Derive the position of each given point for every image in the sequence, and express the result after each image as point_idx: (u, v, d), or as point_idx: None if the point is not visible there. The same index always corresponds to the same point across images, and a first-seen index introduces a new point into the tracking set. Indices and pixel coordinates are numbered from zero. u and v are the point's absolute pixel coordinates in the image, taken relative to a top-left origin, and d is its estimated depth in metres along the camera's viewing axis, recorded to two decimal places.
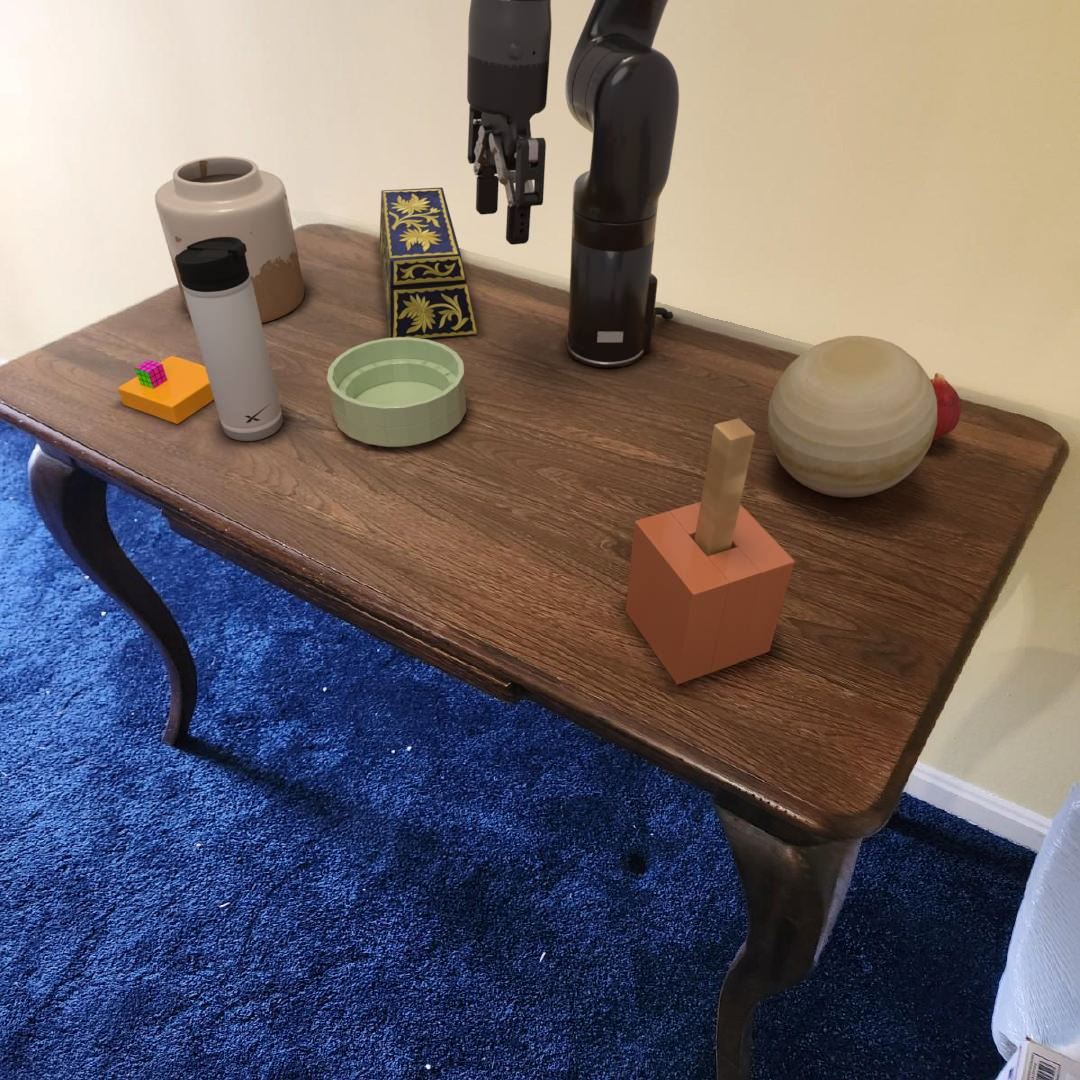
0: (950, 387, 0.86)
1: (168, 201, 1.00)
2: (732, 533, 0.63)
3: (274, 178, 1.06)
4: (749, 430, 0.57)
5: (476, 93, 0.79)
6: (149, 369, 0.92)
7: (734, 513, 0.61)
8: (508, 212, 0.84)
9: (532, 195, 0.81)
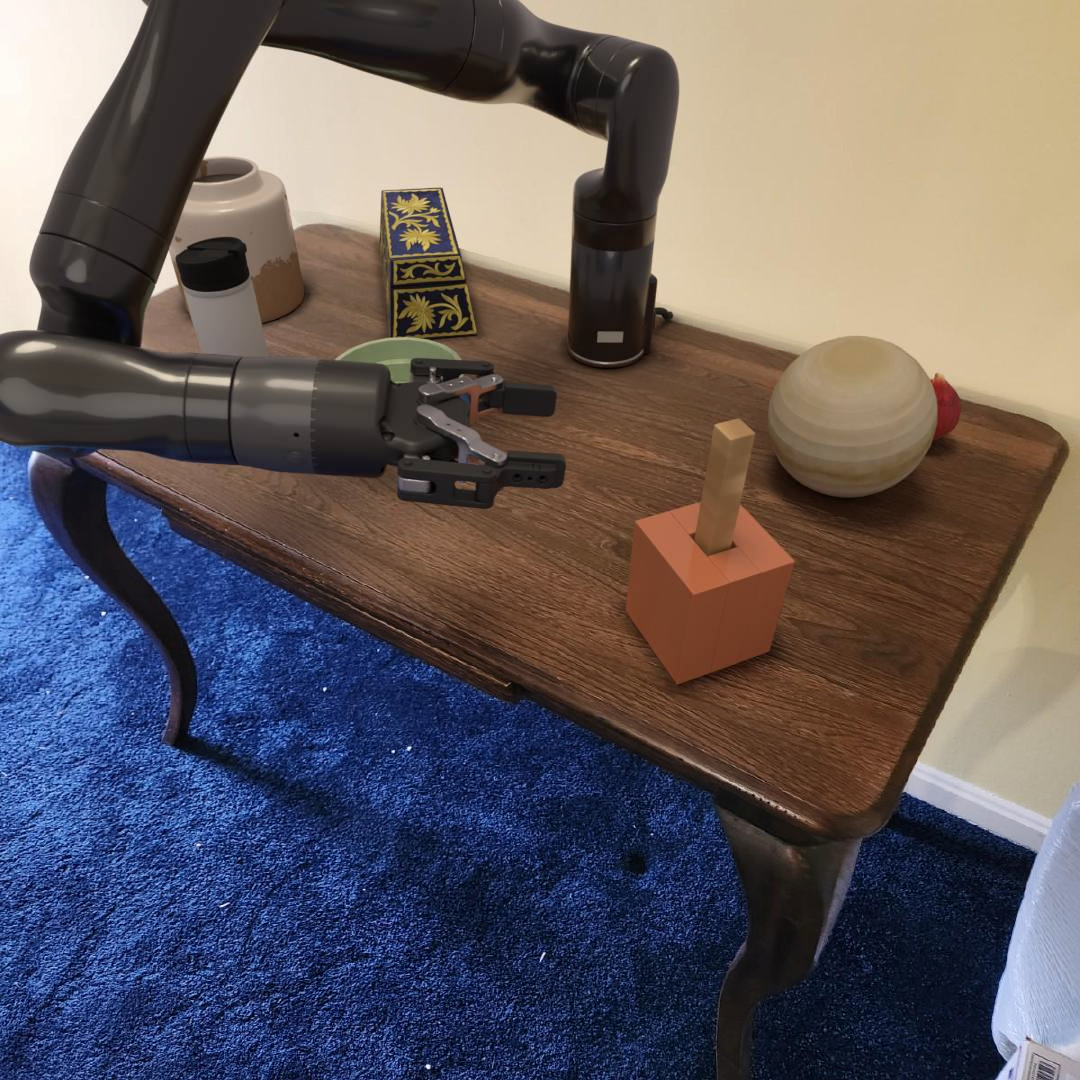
0: (950, 387, 0.86)
1: None
2: (732, 533, 0.63)
3: (274, 178, 1.06)
4: (749, 430, 0.57)
5: None
6: None
7: (734, 513, 0.61)
8: None
9: (477, 488, 0.52)
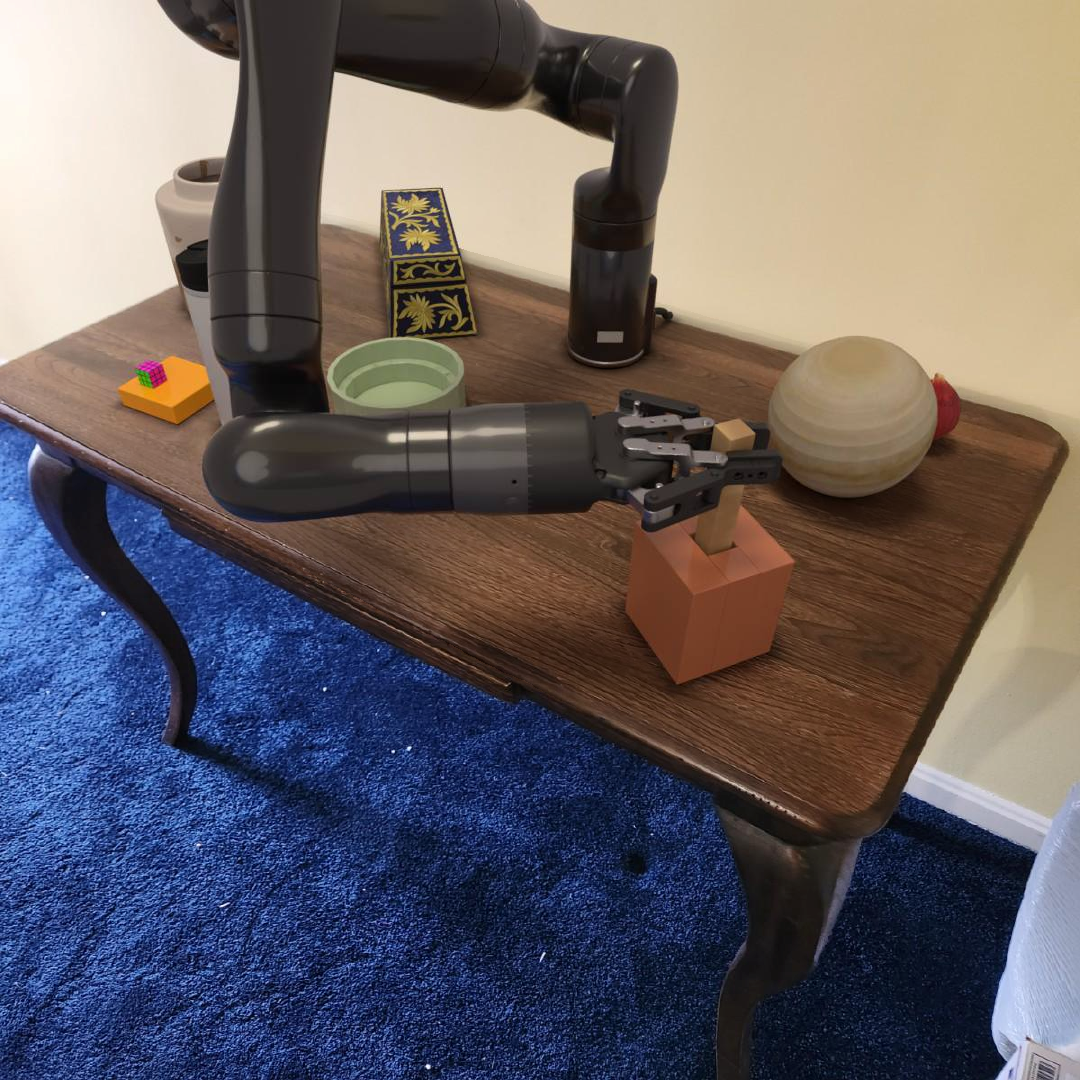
0: (950, 387, 0.86)
1: (168, 201, 1.00)
2: (732, 533, 0.63)
3: None
4: (749, 430, 0.57)
5: None
6: (149, 369, 0.92)
7: (734, 513, 0.61)
8: None
9: (706, 490, 0.55)
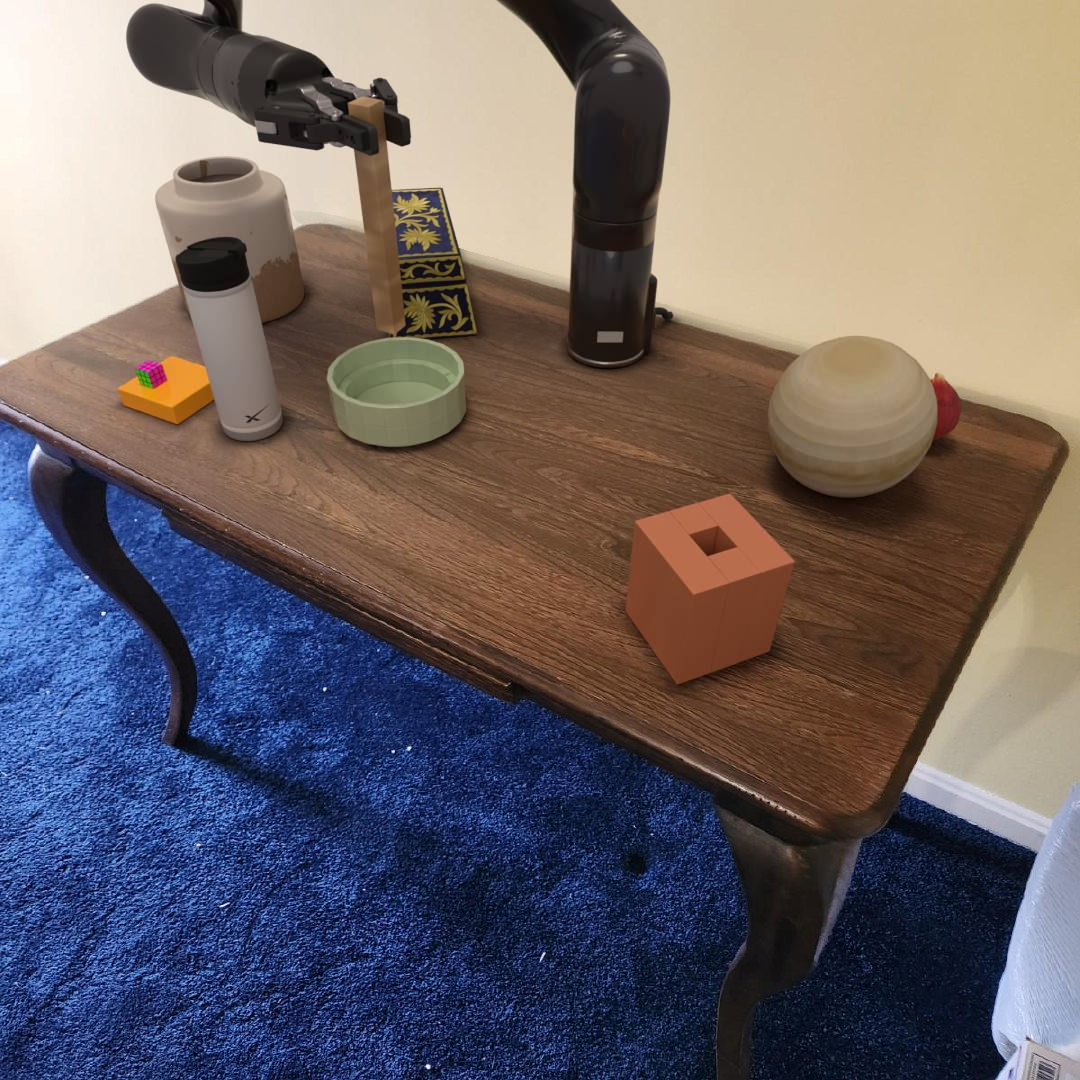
0: (950, 387, 0.86)
1: (168, 201, 1.00)
2: (379, 217, 0.73)
3: (274, 178, 1.06)
4: (369, 104, 0.68)
5: None
6: (149, 369, 0.92)
7: (374, 193, 0.72)
8: None
9: None
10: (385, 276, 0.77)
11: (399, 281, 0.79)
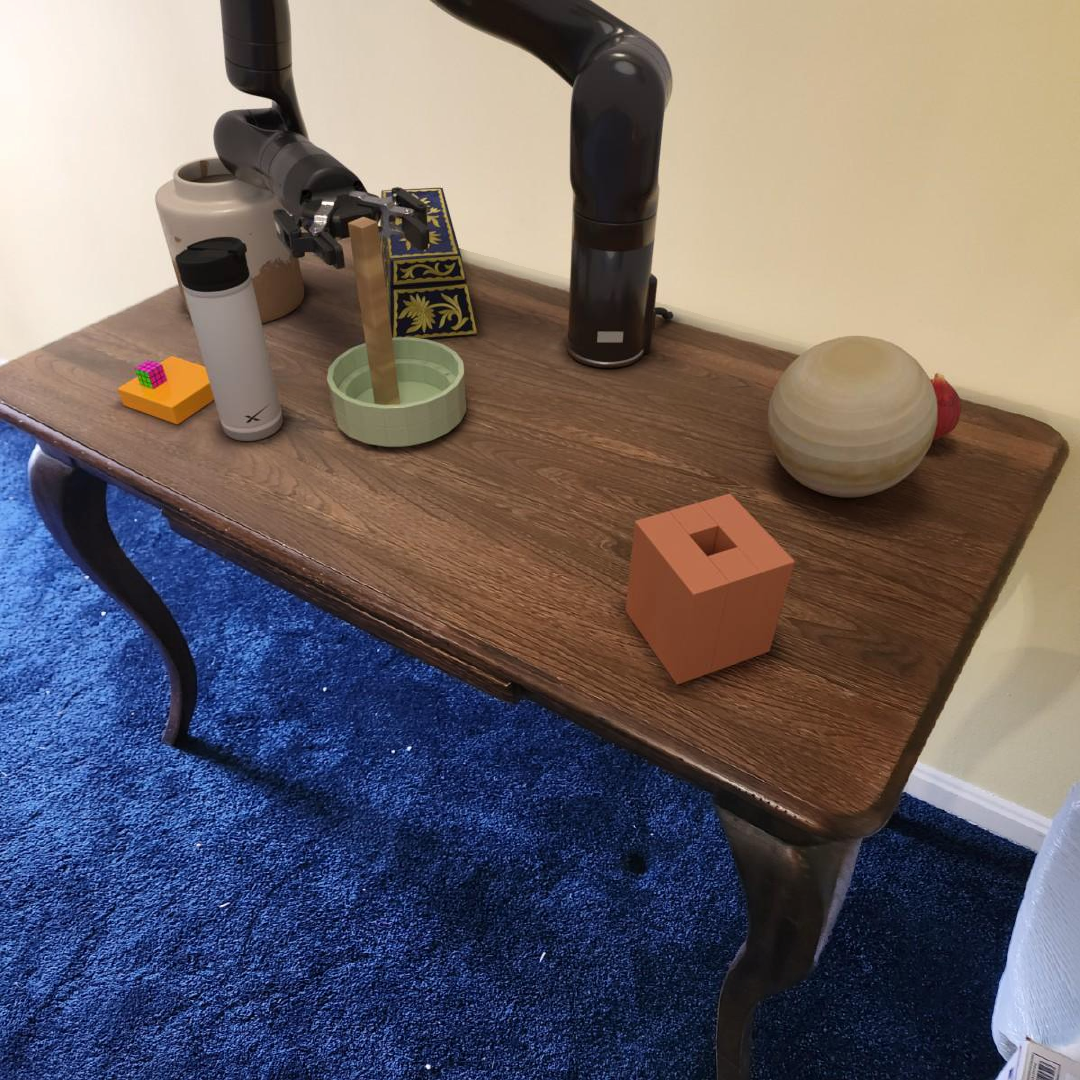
0: (950, 387, 0.86)
1: (168, 201, 1.00)
2: (373, 315, 0.85)
3: None
4: (363, 225, 0.80)
5: None
6: (149, 369, 0.92)
7: (369, 296, 0.84)
8: None
9: None
10: (378, 362, 0.89)
11: (394, 367, 0.91)
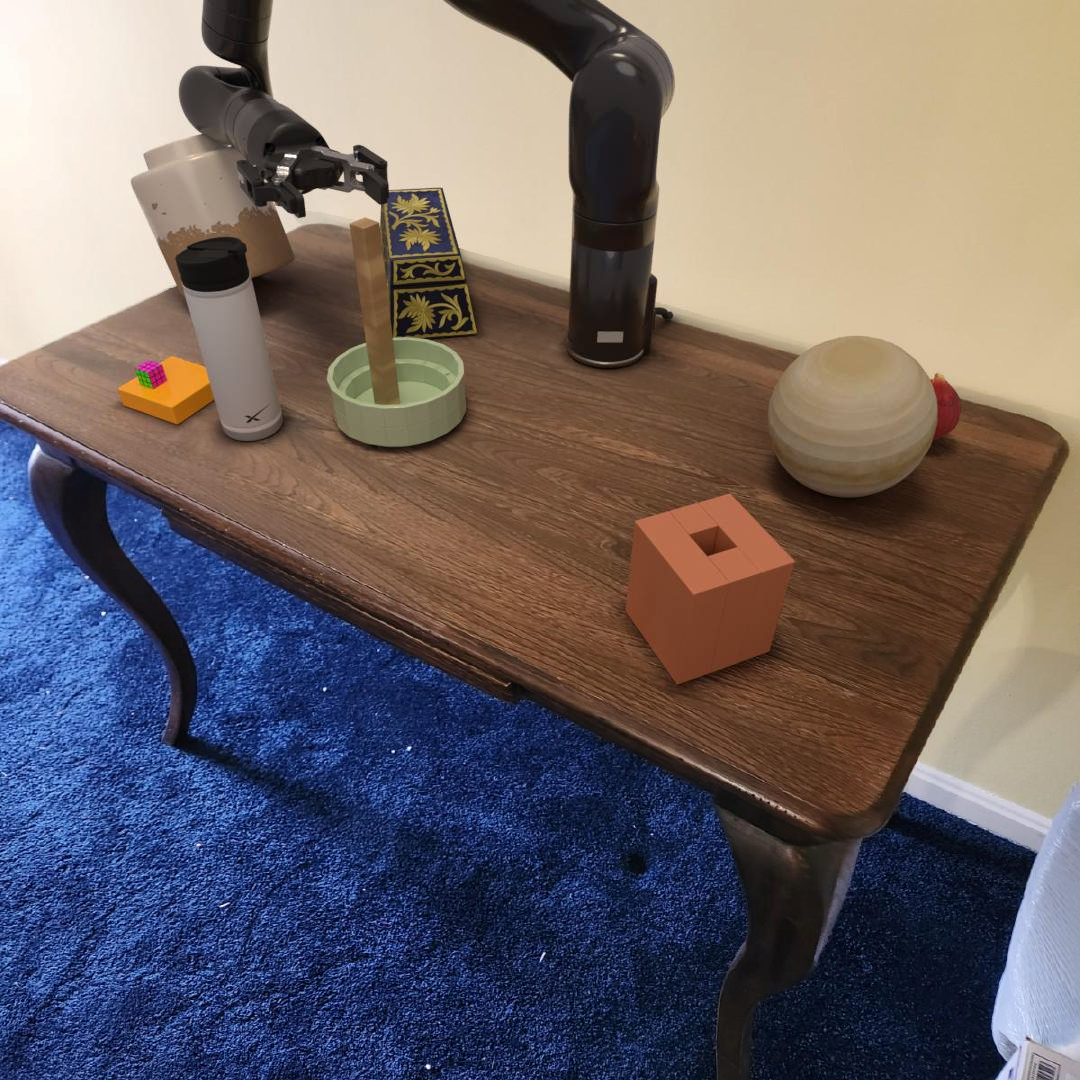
0: (950, 387, 0.86)
1: None
2: (373, 315, 0.85)
3: None
4: (365, 226, 0.80)
5: None
6: (149, 369, 0.92)
7: (370, 296, 0.84)
8: None
9: None
10: (379, 363, 0.89)
11: (394, 367, 0.91)
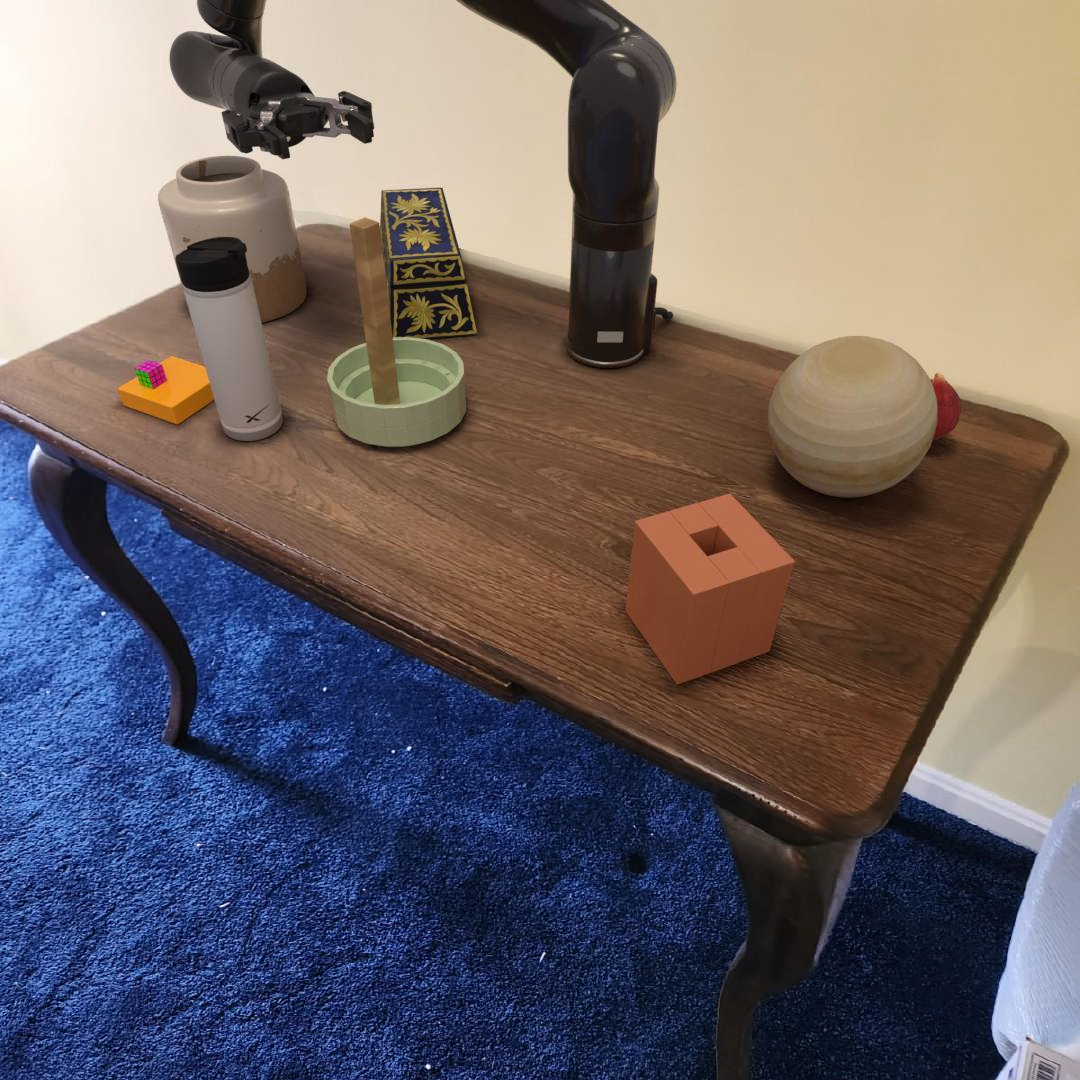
0: (950, 387, 0.86)
1: (174, 202, 1.00)
2: (373, 315, 0.85)
3: (275, 175, 1.07)
4: (365, 226, 0.80)
5: None
6: (149, 369, 0.92)
7: (370, 296, 0.84)
8: None
9: None
10: (379, 363, 0.89)
11: (394, 367, 0.91)
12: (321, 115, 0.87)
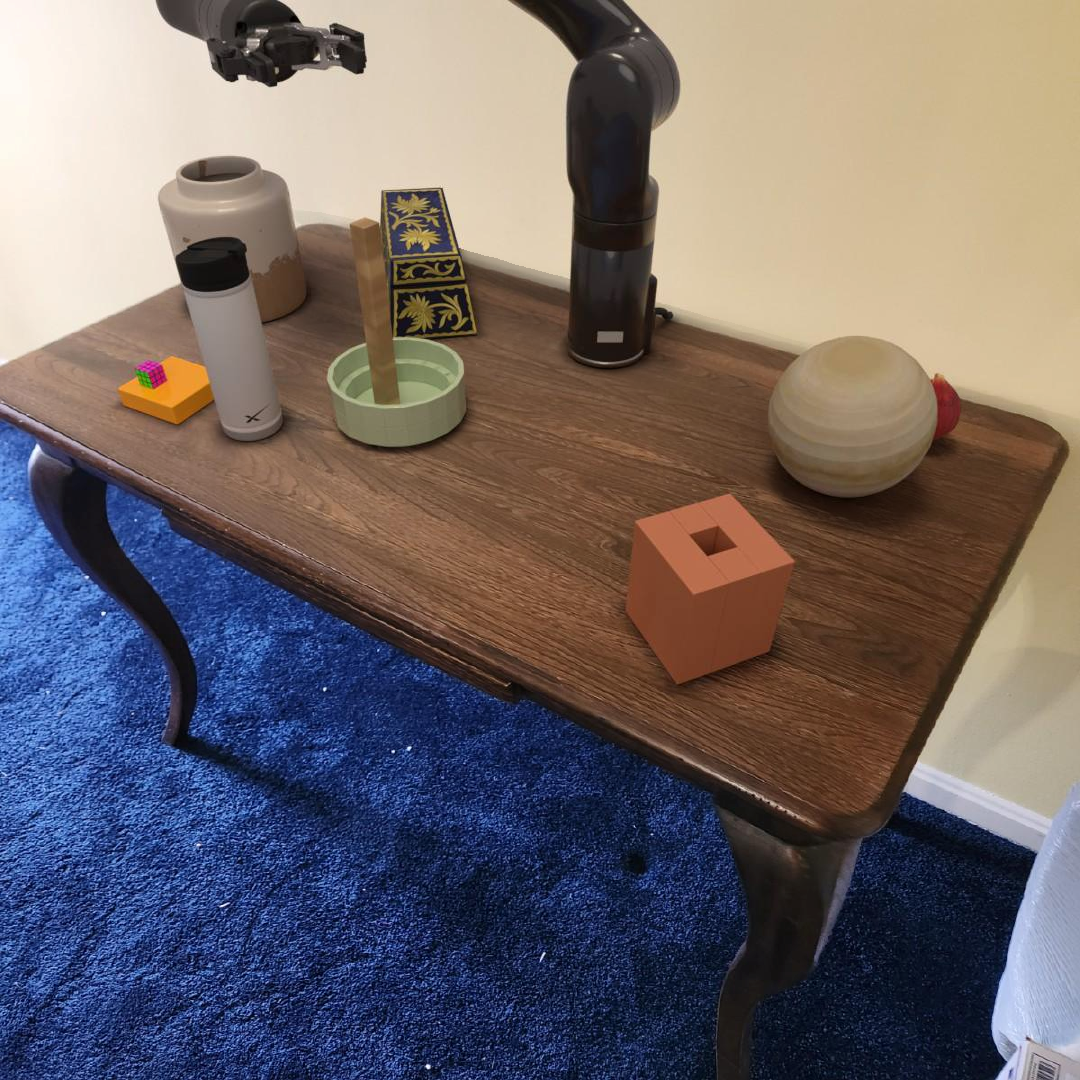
0: (950, 387, 0.86)
1: (174, 202, 1.00)
2: (373, 315, 0.85)
3: (275, 175, 1.07)
4: (365, 226, 0.80)
5: None
6: (149, 369, 0.92)
7: (370, 296, 0.84)
8: None
9: None
10: (379, 363, 0.89)
11: (394, 367, 0.91)
12: (311, 45, 0.83)
